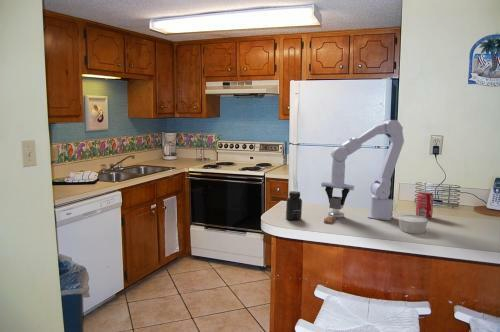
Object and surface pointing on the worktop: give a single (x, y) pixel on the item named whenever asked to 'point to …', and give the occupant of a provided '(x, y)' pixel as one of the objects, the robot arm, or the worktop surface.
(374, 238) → the worktop surface
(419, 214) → the soda can
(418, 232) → the ramekin
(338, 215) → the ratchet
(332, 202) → the socket
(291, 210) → the supplement bottle
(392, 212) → the robot arm
